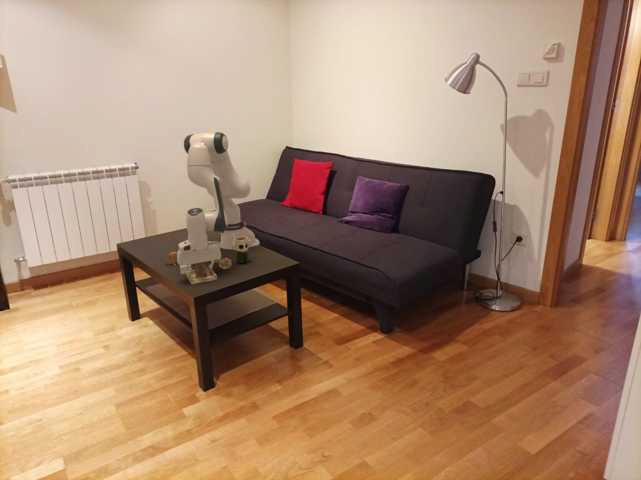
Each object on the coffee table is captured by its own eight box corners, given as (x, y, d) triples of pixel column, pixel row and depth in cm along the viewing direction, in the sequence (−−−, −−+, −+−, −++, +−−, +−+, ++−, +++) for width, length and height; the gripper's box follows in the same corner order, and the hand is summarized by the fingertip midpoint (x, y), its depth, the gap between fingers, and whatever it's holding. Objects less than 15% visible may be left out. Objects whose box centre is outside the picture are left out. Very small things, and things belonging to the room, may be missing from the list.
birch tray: (210, 271, 239) (210, 267, 239) (217, 279, 229) (216, 275, 229) (186, 275, 234) (185, 271, 234) (191, 284, 224) (191, 280, 224)
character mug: (236, 266, 246) (234, 241, 241) (230, 262, 251) (228, 238, 247) (255, 261, 251) (253, 237, 247) (248, 257, 257) (247, 234, 253)
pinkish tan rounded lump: (219, 259, 255) (218, 252, 253) (221, 262, 251) (220, 254, 250) (211, 261, 253) (210, 253, 252) (213, 263, 250) (212, 256, 248)
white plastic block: (191, 269, 242) (190, 262, 241) (191, 273, 237) (190, 265, 236) (181, 270, 241) (180, 263, 240) (180, 274, 236) (179, 266, 235)
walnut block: (205, 273, 235) (204, 264, 233) (207, 277, 231) (206, 267, 229) (195, 275, 233) (194, 265, 231) (197, 278, 229) (196, 268, 227)
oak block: (226, 265, 248) (226, 257, 246) (231, 267, 244) (231, 260, 243) (219, 267, 245) (218, 259, 244) (223, 269, 242) (223, 262, 240)
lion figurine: (192, 259, 256) (191, 243, 253) (195, 262, 251) (193, 246, 248) (164, 264, 249) (162, 248, 246) (166, 268, 244) (164, 251, 242)
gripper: (218, 238, 233) (220, 264, 238) (174, 244, 225) (178, 272, 229) (221, 241, 228) (224, 269, 232) (177, 248, 219) (180, 276, 224)
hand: (200, 270), depth 231 cm, fingers open, 8 cm apart
